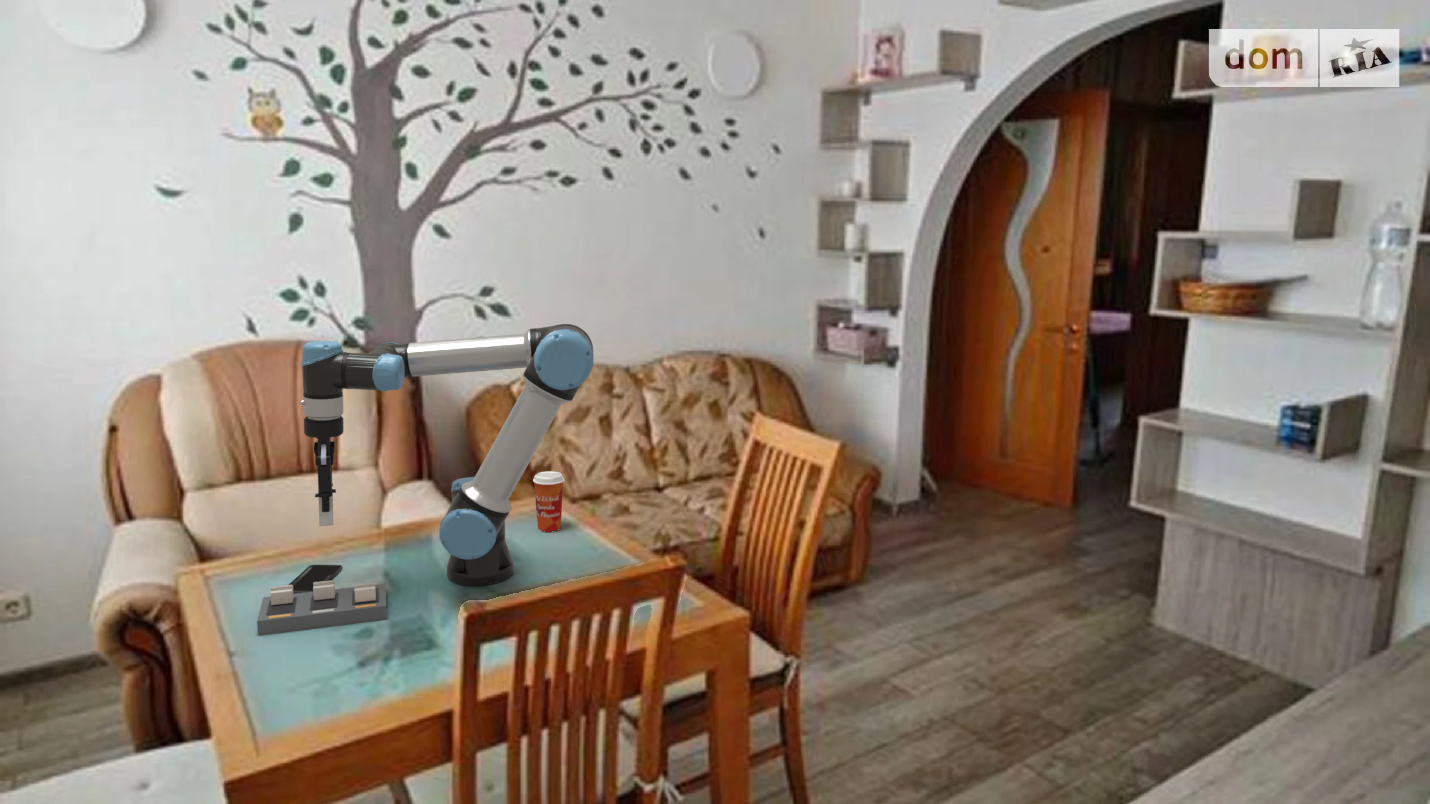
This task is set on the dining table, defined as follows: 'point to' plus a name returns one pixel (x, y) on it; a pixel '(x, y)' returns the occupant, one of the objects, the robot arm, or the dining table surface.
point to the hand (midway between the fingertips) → (326, 524)
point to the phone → (314, 577)
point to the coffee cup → (548, 500)
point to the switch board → (320, 611)
